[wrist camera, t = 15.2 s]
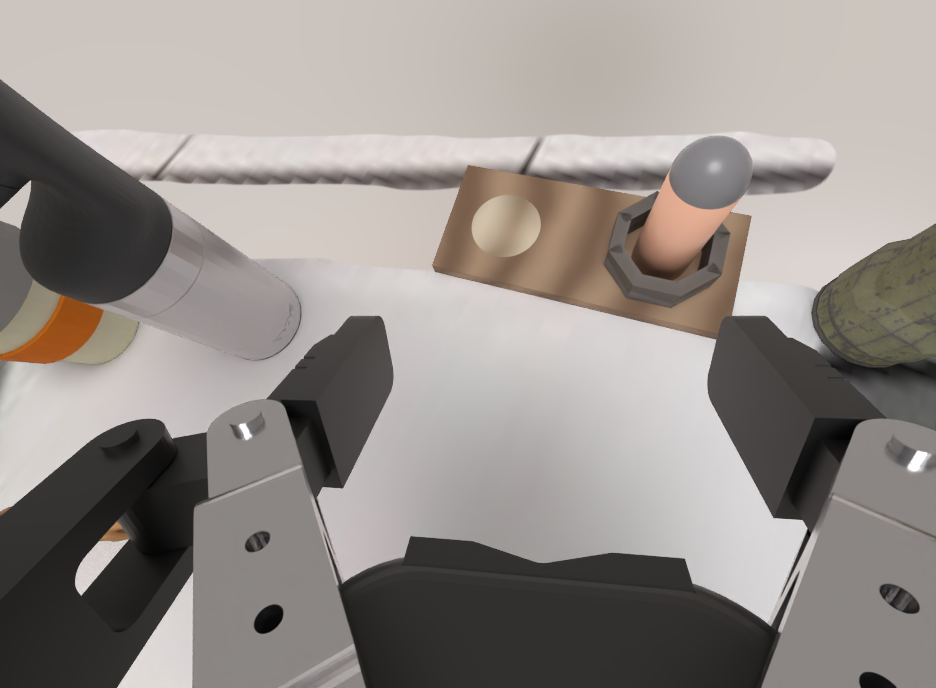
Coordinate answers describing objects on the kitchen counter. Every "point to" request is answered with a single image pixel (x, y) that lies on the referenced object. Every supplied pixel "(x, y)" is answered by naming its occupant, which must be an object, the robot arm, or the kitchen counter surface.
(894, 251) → the thermos
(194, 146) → the kitchen counter surface
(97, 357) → the reusable coffee cup
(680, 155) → the round-topped orange cylinder
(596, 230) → the jig
